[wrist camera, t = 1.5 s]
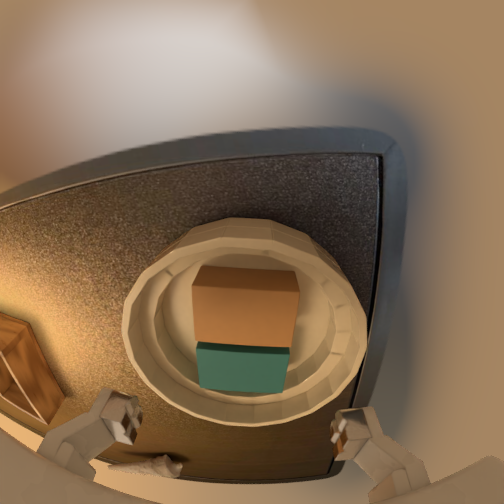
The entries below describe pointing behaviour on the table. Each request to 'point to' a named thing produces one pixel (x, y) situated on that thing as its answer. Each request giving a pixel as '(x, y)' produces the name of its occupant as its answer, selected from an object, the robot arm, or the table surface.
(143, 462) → the seashell
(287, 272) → the tan rectangular block
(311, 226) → the table surface
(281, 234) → the bowl
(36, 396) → the holder
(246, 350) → the teal rectangular block
